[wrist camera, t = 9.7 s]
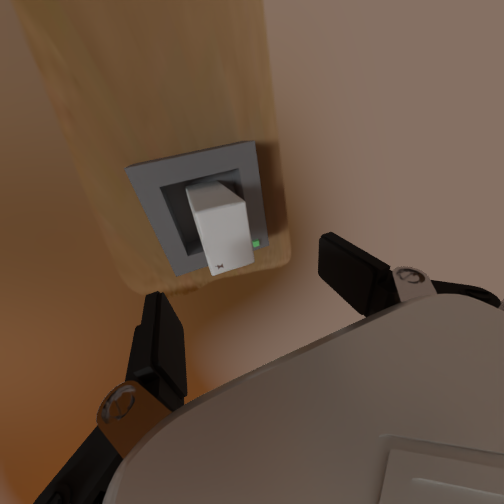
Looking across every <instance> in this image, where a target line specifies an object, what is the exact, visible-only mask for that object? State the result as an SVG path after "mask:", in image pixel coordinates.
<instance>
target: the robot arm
mask: <svg viewBox="0 0 504 504" xmlns="http://www.w3.org/2000/svg"><path fill="white" fill-rule="evenodd" d="M318 261H319V262H318V274H319V276H320V277H321V278H322V279H323V280H324V281H325V282H326V283H327V284H328V285H329V286H330V287H332V288H333V289H334V290H335V291H336V292H337V293H338V294H339V295H340V296H341V297H342V298H343V299H344V300H345V301H346V302H348V303H349V304H350V305H351V306H352V307H353V308H354V309H355V310H356V311H357V312H358V313H360V314H361V315H364V316H365V317H366V318H364V319H362V320H360V321H358V322H355V323H353V324H351V325H349V326H347V327H344V328H342V329H340V330H338V331H336V332H334V333H331V334H329V335H327V336H325V337H323V338H321V339H319V340H317V341H314V342H312V343H310V344H308V345H306V346H304V347H301V348H299V349H297V350H295V351H293V352H291V353H289V354H286V355H284V356H282V357H280V358H278V359H276V360H274V361H272V362H269V363H267V364H265V365H263V366H261V367H259V368H257V369H255V370H253V371H251V372H248V373H246V374H244V375H242V376H240V377H238V378H236V379H234V380H232V381H229V382H227V383H225V384H223V385H221V386H219V387H217V388H215V389H213V390H211V391H209V392H207V393H205V394H203V395H201V396H199V397H197V398H196V399H194V400H192V401H190V402H189V403H187V404H185V405H184V397H185V396H187V378H186V362H185V347H184V331H183V326H182V324H181V322H180V320H179V319H178V317H177V316H176V313H175V312H174V310H173V308H172V306H171V305H170V303H169V301H168V299H167V298H166V296H165V294H164V293H163V292H162V293H160V292H159V291H157V292H154V293H151V294H148V295H146V297H145V303H144V309H143V315H142V321H141V325H139V326H137V327H136V328H135V332H134V337H133V342H132V347H131V352H130V357H129V363H128V368H127V373H126V379H125V382H123V383H121V384H119V385H118V386H116V387H115V388H114V389H113V390H112V391H110V392H109V393H108V395H107V396H106V397H105V398H104V400H103V402H102V403H101V405H100V407H99V409H98V412H97V418H96V422H97V427H96V428H95V429H94V430H93V432H92V433H91V434H90V435H89V436H88V437H87V439H86V440H85V441H84V442H83V443H82V445H81V446H80V447H79V448H78V449H77V451H76V452H75V453H74V454H73V456H72V457H71V458H70V459H69V460H68V462H67V463H66V464H65V465H64V467H63V468H62V469H61V470H60V471H59V473H58V474H57V475H56V476H55V477H54V478H53V480H52V481H51V482H50V483H49V485H48V486H47V487H46V488H45V490H44V491H43V492H42V493H41V494H40V495H39V497H38V498H37V499H36V500H35V502H34V503H33V504H504V299H503V300H502V301H500V300H499V299H498V297H497V296H495V295H494V294H492V293H491V292H489V291H487V290H485V289H483V288H479V287H475V286H470V285H463V284H455V283H448V282H442V281H434V280H430V279H429V277H428V276H427V275H426V274H425V273H424V272H422V271H420V270H418V269H415V268H412V267H397V268H395V269H394V270H393V271H391V270H389V269H390V266H389V265H387V264H386V263H384V262H382V261H381V260H379V259H377V258H375V257H374V256H372V255H370V254H369V253H367V252H365V251H364V250H362V249H360V248H358V247H356V246H355V245H353V244H352V243H350V242H348V241H346V240H345V239H343V238H341V237H339V236H338V235H336V234H334V233H333V232H329V233H326V234H323V235H322V236H321V238H320V239H319V260H318Z"/></svg>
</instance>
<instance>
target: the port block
mask: <svg viewBox="0 0 504 504" xmlns="http://www.w3.org/2000/svg"><path fill="white" fill-rule="evenodd" d="M124 169H125V171H126V173H127V175H128V178H129V180H130V182H131V184H132V186H133V188H134V190H135V192H136V194H137V196H138V198H139V200H140V202H141V204H142V207H143V209H144V211H145V213H146V215H147V217H148V219H149V221H150V223H151V225H152V227H153V229H154V231H155V233H156V236H157V238H158V240H159V242H160V244H161V246H162V248H163V250H164V252H165V254H166V256H167V258H168V260H169V262H170V265H171V267H172V269H173V271H174V273H175V275H176V276H179V275H182V274H185V273H188V272H191V271H194V270H197V269H200V268H203V267H206V266H208V263H207V259H206V256H205V252H204V249H203V246H202V243H201V240H200V236H199V233H198V230H197V227H196V224H195V221H194V217H193V214H192V211H191V208H190V204H189V201H188V197H187V193H186V189H185V186H188V185H194V184H199V183H205V182H210V181H215V180H217V181H218V182H220V183H221V184H222V185H224V186H225V187H227V188H228V189H229V190H230V191H232V192H233V193H235V194H236V195H237V196H239V197H240V198H241V199H243V200H244V201H245V202H246V208H247V215H248V221H249V228H250V234H251V239H252V246H253V251H254V250H257V249H260V248H263V247H265V246H268V245H269V241H268V234H267V226H266V219H265V212H264V205H263V198H262V190H261V183H260V176H259V169H258V162H257V154H256V147H255V141H240V142H236V143H231V144H226V145H221V146H217V147H212V148H207V149H202V150H198V151H193V152H188V153H183V154H179V155H174V156H169V157H164V158H159V159H155V160H150V161H145V162H140V163H136V164H132V165H130V166H128V167H126V168H124Z"/></svg>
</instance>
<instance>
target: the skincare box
mask: <svg viewBox="0 0 504 504" xmlns="http://www.w3.org/2000/svg"><path fill="white" fill-rule="evenodd" d="M185 189H186V193H187V197H188V201H189V204H190V208H191V211H192V214H193V217H194V221H195V224H196V227H197V230H198V233H199V236H200V240H201V243H202V246H203V249H204V252H205V256H206V259H207V263H208V266H209V269H210V272H211V274H212V275H213V276H214V275H217V274H220V273H223V272H226V271H229V270H232V269H236V268H239V267H242V266H245V265H248V264H251V263H254V262H255V260H254V253H253V246H252V239H251V234H250V228H249V221H248V215H247V208H246V202H245V201H244V200H243V199H241V198H240V197H239V196H237V195H236V194H235V193H233V192H232V191H230V190H229V189H228V188H227V187H225V186H224V185H222V184H221V183H220V182H218V181H217V180H215V181H210V182H205V183H199V184H194V185H188V186H185Z"/></svg>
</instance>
